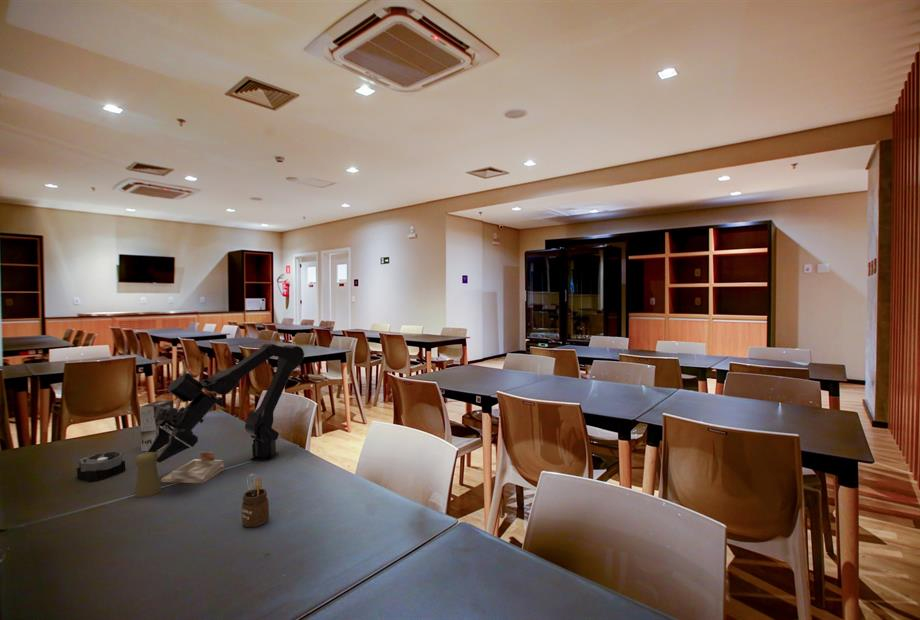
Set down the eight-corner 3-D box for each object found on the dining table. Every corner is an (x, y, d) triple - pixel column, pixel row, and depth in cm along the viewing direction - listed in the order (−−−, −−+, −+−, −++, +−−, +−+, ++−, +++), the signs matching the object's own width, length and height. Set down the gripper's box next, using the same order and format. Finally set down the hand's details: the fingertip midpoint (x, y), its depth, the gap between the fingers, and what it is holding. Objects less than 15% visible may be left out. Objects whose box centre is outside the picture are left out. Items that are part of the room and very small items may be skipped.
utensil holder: (263, 512, 110) (262, 465, 109) (273, 521, 105) (271, 472, 105) (238, 521, 106) (236, 472, 105) (247, 531, 101) (246, 480, 101)
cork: (166, 487, 125) (165, 449, 124) (149, 497, 119) (147, 457, 118) (147, 487, 125) (145, 449, 125) (129, 497, 119) (127, 457, 119)
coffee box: (158, 451, 153) (156, 406, 153) (140, 451, 153) (138, 406, 153) (176, 442, 162) (174, 399, 162) (158, 442, 163) (157, 399, 162)
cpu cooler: (129, 453, 137) (91, 465, 127) (130, 471, 137) (92, 484, 128) (110, 449, 141) (71, 460, 132) (111, 466, 141) (72, 478, 132)
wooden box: (224, 469, 137) (223, 451, 137) (202, 483, 127) (202, 464, 127) (185, 468, 138) (184, 451, 138) (161, 481, 128) (160, 463, 128)
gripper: (164, 390, 132) (119, 435, 124) (183, 400, 120) (135, 451, 112) (194, 411, 138) (153, 455, 131) (215, 422, 126) (172, 471, 118)
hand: (153, 457), depth 123 cm, fingers open, 9 cm apart
